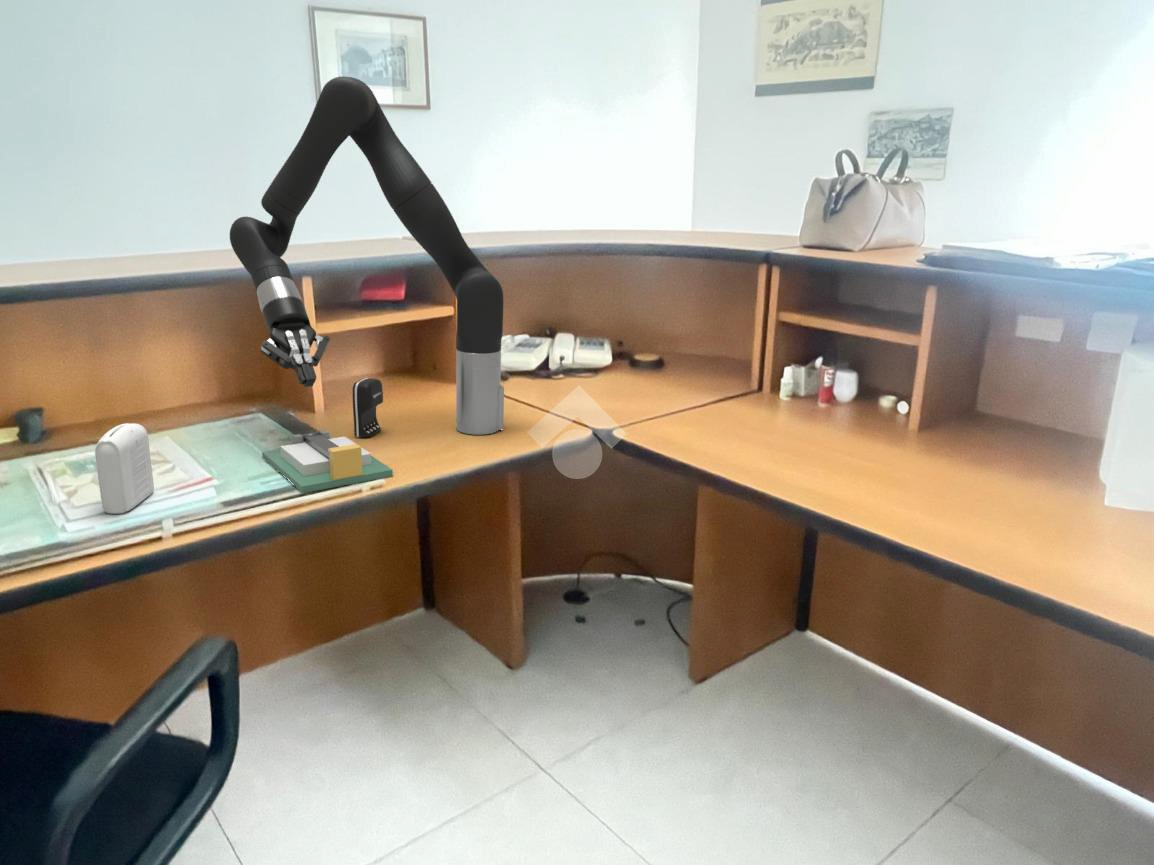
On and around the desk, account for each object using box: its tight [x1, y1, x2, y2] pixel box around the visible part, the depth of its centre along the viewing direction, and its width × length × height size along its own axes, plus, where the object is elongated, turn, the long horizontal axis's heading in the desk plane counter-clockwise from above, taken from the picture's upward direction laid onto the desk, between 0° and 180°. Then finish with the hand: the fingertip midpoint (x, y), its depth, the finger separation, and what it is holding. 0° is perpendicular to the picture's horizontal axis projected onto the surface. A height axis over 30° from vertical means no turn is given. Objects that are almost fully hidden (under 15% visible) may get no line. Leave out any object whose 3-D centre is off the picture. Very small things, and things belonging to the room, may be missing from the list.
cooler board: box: [261, 429, 394, 494], centre depth 143 cm, size 21×16×6 cm
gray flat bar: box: [301, 431, 339, 457], centre depth 143 cm, size 16×3×1 cm, turn 38°
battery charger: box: [352, 377, 384, 438], centre depth 162 cm, size 7×4×11 cm, turn 167°
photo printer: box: [94, 423, 155, 515], centre depth 123 cm, size 10×4×12 cm, turn 3°
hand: (309, 384), depth 145 cm, fingers closed
